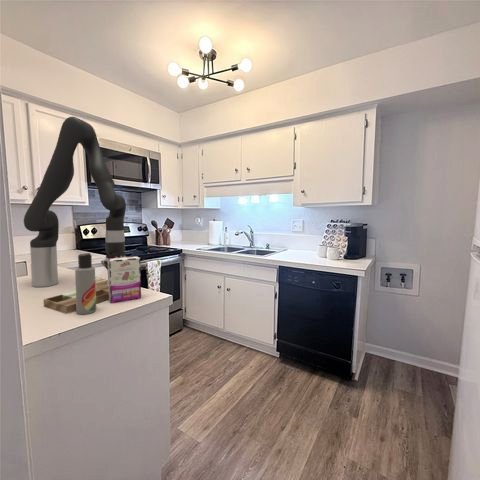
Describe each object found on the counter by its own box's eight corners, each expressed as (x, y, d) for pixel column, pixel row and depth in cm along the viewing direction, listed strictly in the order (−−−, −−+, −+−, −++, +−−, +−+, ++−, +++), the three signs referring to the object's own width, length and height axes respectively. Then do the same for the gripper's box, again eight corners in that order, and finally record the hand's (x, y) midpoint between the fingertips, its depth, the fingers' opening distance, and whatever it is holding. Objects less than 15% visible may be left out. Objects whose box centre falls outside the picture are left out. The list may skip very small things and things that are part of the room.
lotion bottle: (98, 311, 87) (97, 253, 85) (79, 316, 83) (77, 255, 81) (92, 307, 91) (91, 251, 89) (74, 311, 87) (72, 253, 84)
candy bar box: (137, 295, 105) (137, 255, 104) (141, 298, 101) (141, 257, 100) (107, 299, 99) (107, 258, 97) (110, 303, 95) (109, 260, 93)
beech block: (88, 288, 104) (88, 280, 103) (99, 285, 108) (99, 278, 108) (96, 290, 102) (96, 282, 101) (107, 287, 106) (107, 280, 106)
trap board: (43, 306, 90) (43, 299, 90) (100, 289, 110) (100, 284, 110) (66, 313, 85) (66, 306, 84) (122, 295, 104) (122, 289, 104)
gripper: (121, 238, 118) (122, 275, 120) (95, 241, 106) (96, 281, 108) (133, 239, 115) (134, 277, 117) (107, 242, 103) (108, 284, 105)
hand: (116, 279), depth 112 cm, fingers closed
